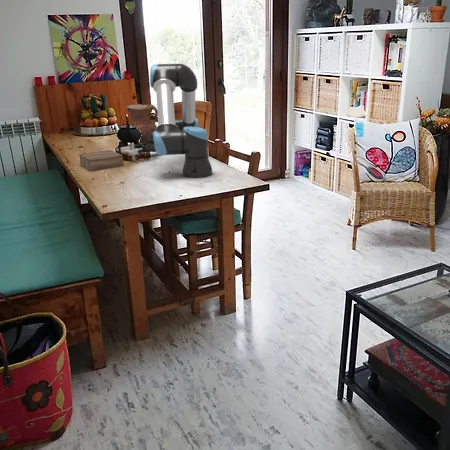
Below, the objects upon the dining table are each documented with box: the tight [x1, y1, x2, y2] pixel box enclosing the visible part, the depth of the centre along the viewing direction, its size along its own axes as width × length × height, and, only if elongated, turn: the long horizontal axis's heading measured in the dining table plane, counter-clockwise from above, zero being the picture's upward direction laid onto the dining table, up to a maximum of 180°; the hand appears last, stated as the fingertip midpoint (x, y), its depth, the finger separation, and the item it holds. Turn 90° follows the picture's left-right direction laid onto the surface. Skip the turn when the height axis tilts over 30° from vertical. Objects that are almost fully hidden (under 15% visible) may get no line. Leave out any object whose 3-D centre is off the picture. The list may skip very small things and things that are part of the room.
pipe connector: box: [123, 143, 137, 162], centre depth 264 cm, size 10×10×10 cm
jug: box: [125, 103, 158, 144], centre depth 306 cm, size 22×21×25 cm
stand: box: [79, 149, 124, 172], centre depth 255 cm, size 18×18×6 cm
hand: (126, 151), depth 261 cm, fingers closed on pipe connector, 10 cm apart
